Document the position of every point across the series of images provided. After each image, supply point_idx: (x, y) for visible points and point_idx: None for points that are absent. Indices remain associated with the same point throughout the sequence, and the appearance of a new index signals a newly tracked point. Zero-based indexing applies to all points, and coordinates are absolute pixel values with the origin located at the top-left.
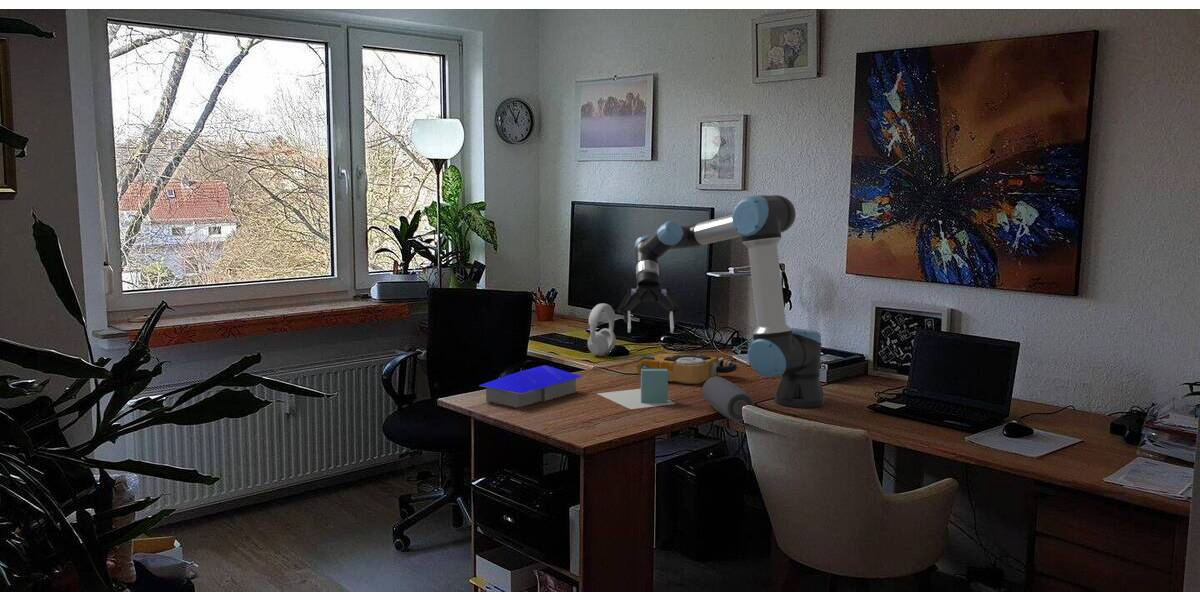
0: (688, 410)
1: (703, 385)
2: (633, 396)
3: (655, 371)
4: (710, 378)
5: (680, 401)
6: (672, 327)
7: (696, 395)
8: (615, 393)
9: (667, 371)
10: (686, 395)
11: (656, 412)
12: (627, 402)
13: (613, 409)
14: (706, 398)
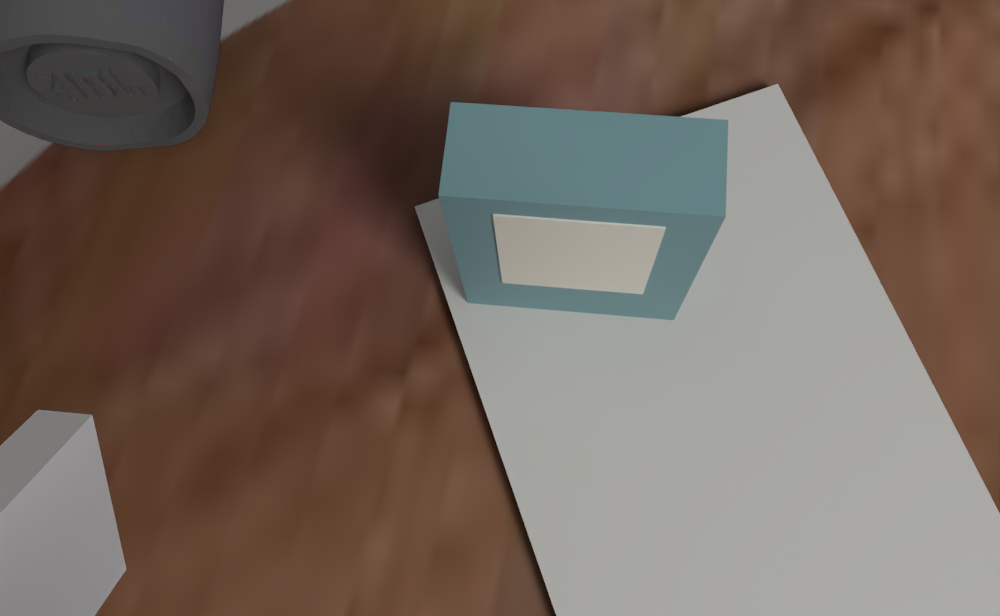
0: (367, 83)
1: (178, 61)
2: (716, 461)
3: (582, 112)
4: (95, 9)
5: (351, 330)
6: (59, 424)
7: (160, 516)
8: (871, 594)
9: (457, 105)
10: (243, 525)
11: (597, 52)
12: (785, 269)
13: (896, 146)
14: (222, 13)
